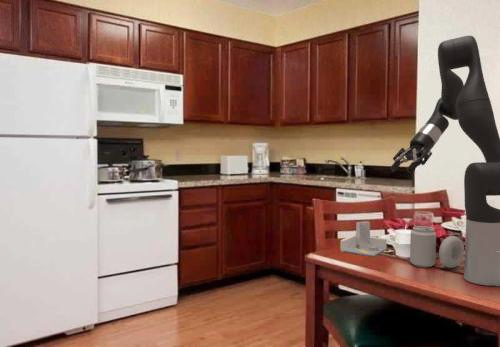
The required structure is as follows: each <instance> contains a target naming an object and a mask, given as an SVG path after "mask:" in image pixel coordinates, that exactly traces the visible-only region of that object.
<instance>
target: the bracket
mask: <svg viewBox="0 0 500 347" xmlns="http://www.w3.org/2000/svg"><path fill="white" fill-rule="evenodd" d="M355 225H356V226H355V227H356V228H355V229H356V232H355V233H356V234H355V235H356V248H357V249H360V250H363V251H365V252H368V253H369V252H377V251H379V247H377V246H374V245H371V244H370V237H371V222H370V221H368V220H367V221H365V220H364V221H356V223H355Z"/></svg>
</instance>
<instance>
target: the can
mask: <svg viewBox="0 0 500 347" xmlns="http://www.w3.org/2000/svg"><path fill="white" fill-rule="evenodd" d="M409 242H410V248H409V249H410V251H409V262H410V263H411V264H412V265H413V266H415V267H418V268H432V267H433V266H435V265H436V256H437V255H436V253H437V252H436V250H437V249H436V248H437V233H436V232H435V229H434V227H430V226H424V225H423V226H422V225H419V226H417V225H416V226H413V227H412V230H410V241H409Z"/></svg>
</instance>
